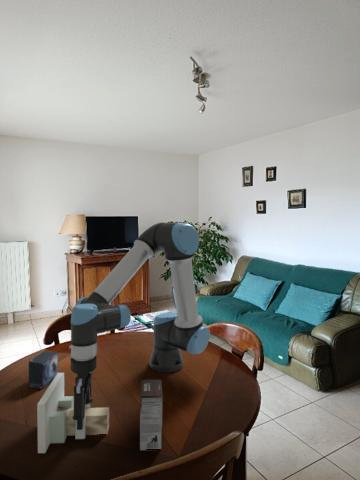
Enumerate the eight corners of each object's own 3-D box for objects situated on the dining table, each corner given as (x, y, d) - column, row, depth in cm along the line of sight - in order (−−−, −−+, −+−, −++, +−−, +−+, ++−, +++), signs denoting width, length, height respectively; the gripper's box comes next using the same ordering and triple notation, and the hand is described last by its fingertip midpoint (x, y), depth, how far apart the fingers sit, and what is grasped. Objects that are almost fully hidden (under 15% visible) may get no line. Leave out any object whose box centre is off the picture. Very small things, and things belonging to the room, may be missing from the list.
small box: (42, 390, 119) (42, 363, 118) (27, 388, 120) (27, 361, 120) (59, 376, 130) (58, 351, 129) (44, 375, 131) (44, 350, 130)
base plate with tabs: (76, 412, 105) (76, 372, 104) (60, 452, 87) (59, 403, 87) (58, 413, 105) (57, 372, 104) (37, 453, 87) (37, 404, 86)
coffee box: (140, 429, 97) (140, 379, 96) (161, 428, 98) (161, 378, 97) (139, 451, 88) (139, 395, 87) (162, 450, 89) (162, 394, 88)
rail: (109, 425, 99) (109, 406, 99) (107, 434, 95) (107, 414, 95) (58, 427, 98) (58, 407, 98) (54, 436, 94) (53, 415, 94)
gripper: (78, 344, 104) (77, 413, 105) (61, 370, 85) (60, 453, 86) (101, 344, 105) (100, 413, 105) (89, 370, 86) (88, 452, 87)
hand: (82, 431), depth 96 cm, fingers open, 6 cm apart
